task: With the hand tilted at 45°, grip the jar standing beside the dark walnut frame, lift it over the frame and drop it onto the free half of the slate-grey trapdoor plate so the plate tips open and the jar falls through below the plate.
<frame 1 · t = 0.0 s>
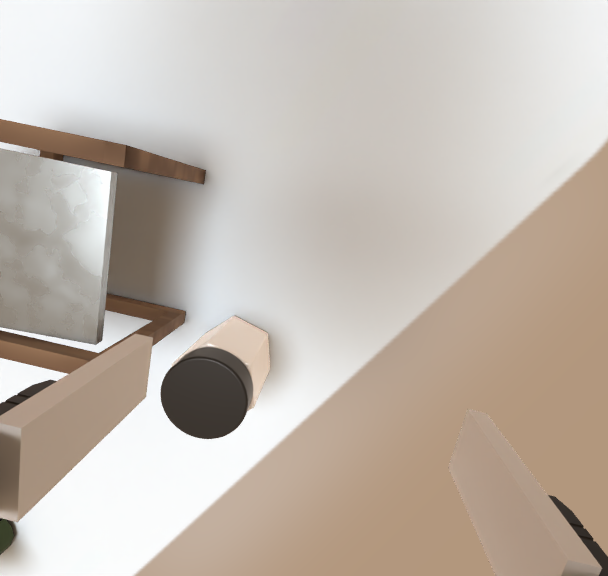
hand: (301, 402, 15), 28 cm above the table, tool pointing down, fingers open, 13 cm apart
trapdoor: (17, 234, 33), point 11 cm above the table, hinge at -5.5°, touching trapdoor frame
jar: (238, 350, 45), on the table
trapdoor frame: (120, 233, 44), on the table
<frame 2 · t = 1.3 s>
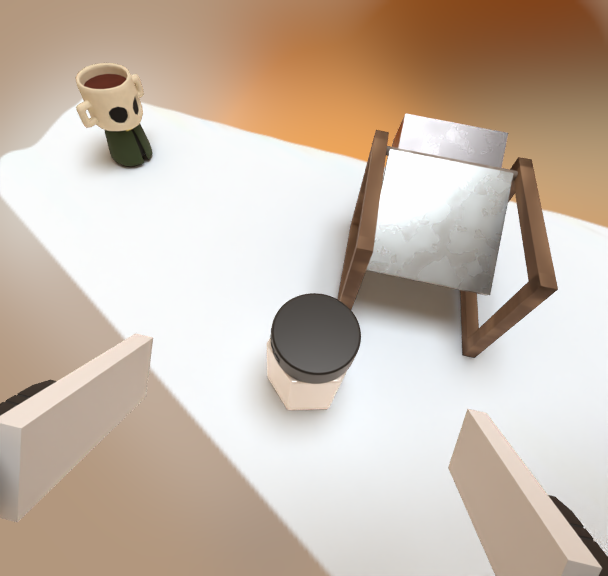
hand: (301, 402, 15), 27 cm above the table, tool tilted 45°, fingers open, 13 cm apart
trapdoor: (432, 208, 46), point 10 cm above the table, hinge at -30.0°, touching trapdoor frame
jar: (305, 376, 44), on the table
trapdoor frame: (406, 283, 52), on the table
character mug: (133, 157, 61), on the table
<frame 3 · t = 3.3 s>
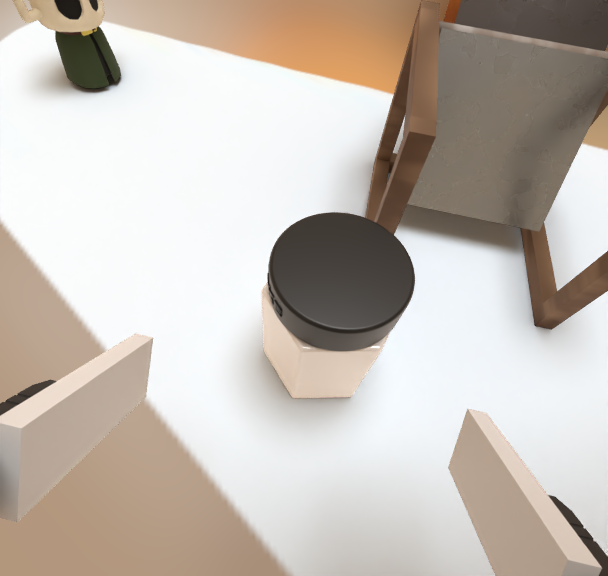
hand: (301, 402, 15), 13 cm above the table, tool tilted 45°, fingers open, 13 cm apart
trapdoor: (491, 107, 35), point 9 cm above the table, hinge at -59.0°, touching trapdoor frame
jar: (318, 351, 31), on the table
trapdoor frame: (451, 233, 39), on the table
character mug: (97, 80, 48), on the table
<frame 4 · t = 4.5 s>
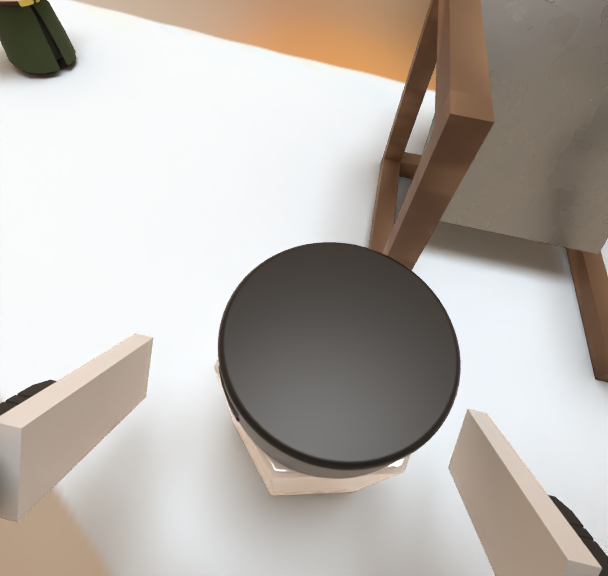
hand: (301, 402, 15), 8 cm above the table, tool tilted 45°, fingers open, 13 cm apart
trapdoor: (536, 92, 27), point 9 cm above the table, hinge at -58.3°, touching trapdoor frame
jar: (308, 420, 23), on the table
trapdoor frame: (479, 253, 31), on the table
character mug: (47, 65, 40), on the table
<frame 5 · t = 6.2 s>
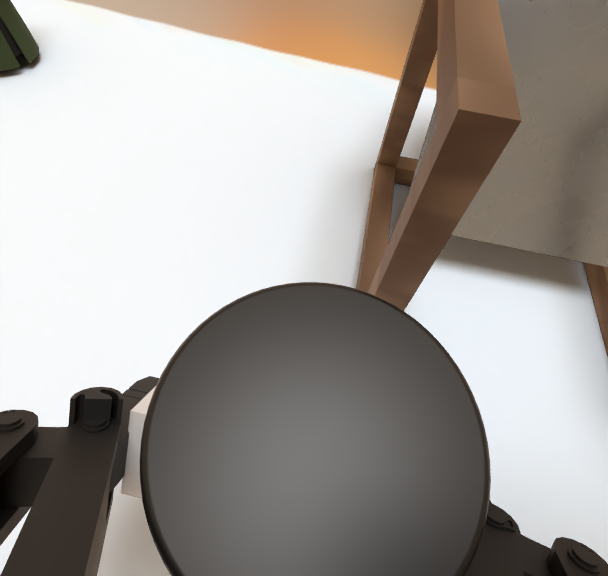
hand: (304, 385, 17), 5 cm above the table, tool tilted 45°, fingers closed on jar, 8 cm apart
trapdoor: (551, 83, 23), point 9 cm above the table, hinge at -62.0°, touching trapdoor frame
jar: (292, 479, 19), on the table, touching gripper
trapdoor frame: (486, 271, 27), on the table
character mug: (8, 62, 37), on the table
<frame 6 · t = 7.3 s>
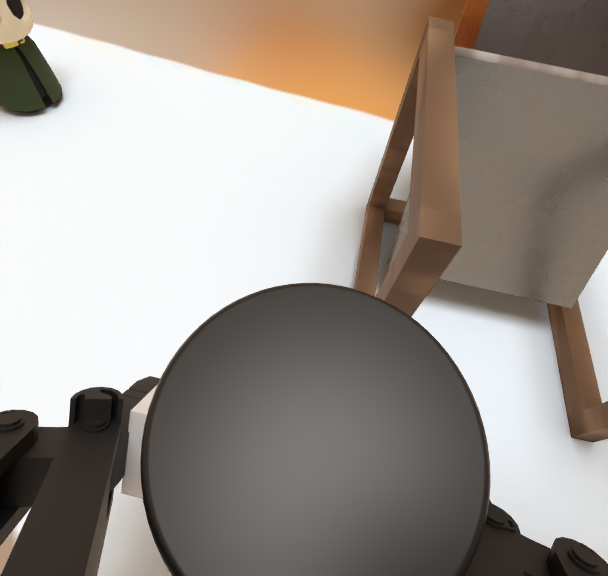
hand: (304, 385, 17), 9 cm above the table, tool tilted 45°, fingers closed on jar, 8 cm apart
trapdoor: (515, 151, 27), point 9 cm above the table, hinge at -60.6°, touching trapdoor frame
jar: (292, 479, 19), point 4 cm above the table, touching gripper
trapdoor frame: (461, 304, 31), on the table
character mug: (33, 101, 40), on the table
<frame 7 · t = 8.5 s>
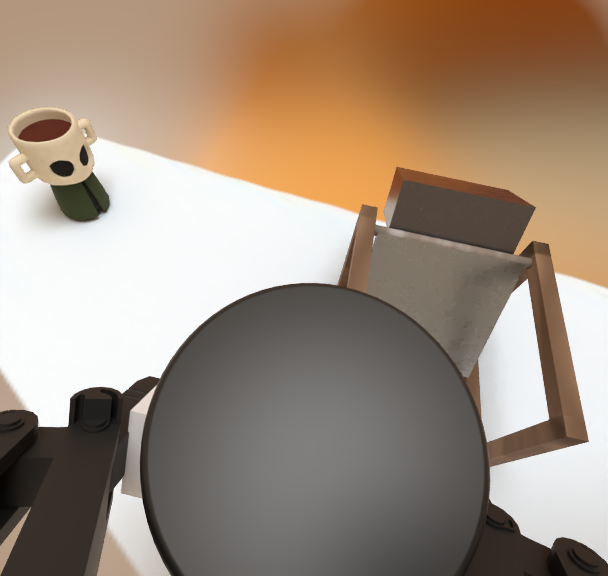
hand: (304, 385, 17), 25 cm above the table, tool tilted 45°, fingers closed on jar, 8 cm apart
trapdoor: (428, 273, 41), point 9 cm above the table, hinge at -60.7°, touching trapdoor frame
jar: (292, 479, 19), point 20 cm above the table, touching gripper
trapdoor frame: (398, 370, 44), on the table
character mug: (88, 207, 54), on the table
when the fingers open (22 cm above the table, at t = 11.1 s): jar drops 9 cm, resting on trapdoor frame.
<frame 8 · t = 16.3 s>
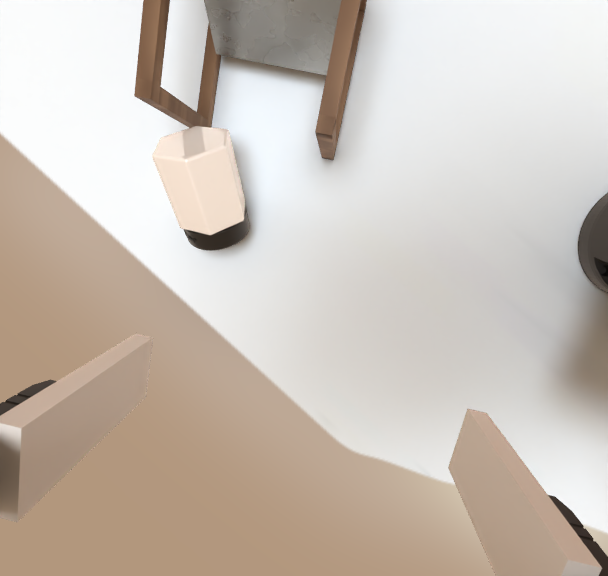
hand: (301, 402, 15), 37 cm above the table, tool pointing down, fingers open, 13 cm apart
jar: (190, 139, 40), point 9 cm above the table, touching trapdoor frame
trapdoor frame: (278, 71, 47), on the table
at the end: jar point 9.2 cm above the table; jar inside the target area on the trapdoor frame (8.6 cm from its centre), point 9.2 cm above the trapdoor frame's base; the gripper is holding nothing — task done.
